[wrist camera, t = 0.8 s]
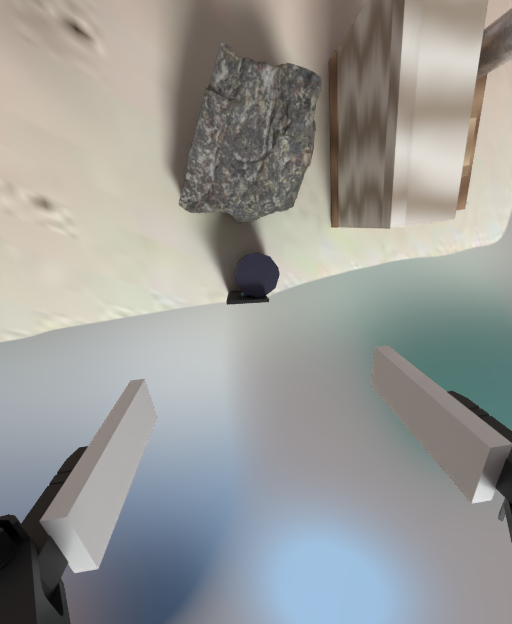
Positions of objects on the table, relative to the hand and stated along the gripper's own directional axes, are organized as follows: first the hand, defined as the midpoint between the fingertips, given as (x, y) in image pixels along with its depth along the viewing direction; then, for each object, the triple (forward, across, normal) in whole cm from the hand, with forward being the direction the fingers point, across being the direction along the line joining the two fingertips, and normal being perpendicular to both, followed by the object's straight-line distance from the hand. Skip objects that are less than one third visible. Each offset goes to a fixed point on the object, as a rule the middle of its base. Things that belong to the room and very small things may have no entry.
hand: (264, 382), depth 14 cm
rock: (+27, +2, +16) cm, 32 cm away
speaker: (+27, +1, +1) cm, 27 cm away
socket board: (+27, +24, +17) cm, 40 cm away
